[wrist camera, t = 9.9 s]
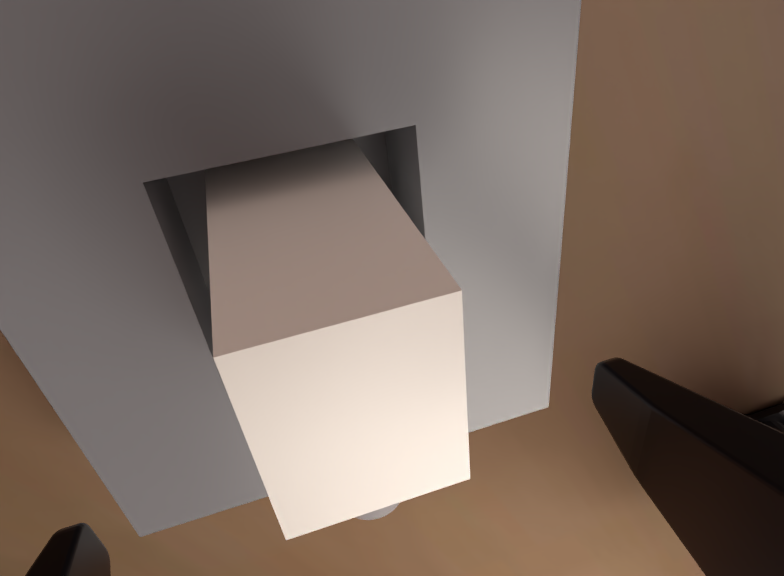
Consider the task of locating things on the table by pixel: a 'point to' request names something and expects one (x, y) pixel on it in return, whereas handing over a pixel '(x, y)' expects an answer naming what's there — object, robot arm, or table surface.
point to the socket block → (246, 142)
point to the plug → (334, 336)
